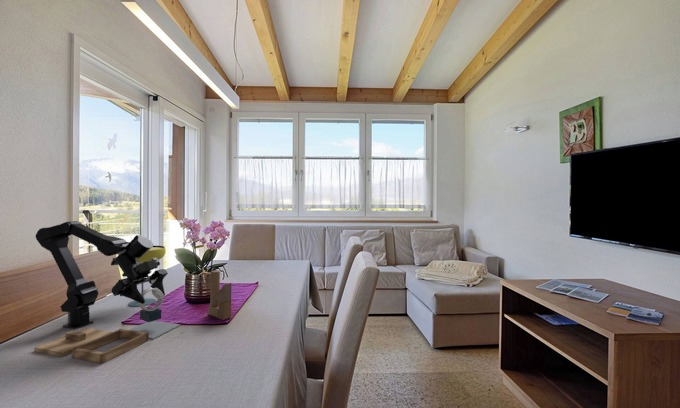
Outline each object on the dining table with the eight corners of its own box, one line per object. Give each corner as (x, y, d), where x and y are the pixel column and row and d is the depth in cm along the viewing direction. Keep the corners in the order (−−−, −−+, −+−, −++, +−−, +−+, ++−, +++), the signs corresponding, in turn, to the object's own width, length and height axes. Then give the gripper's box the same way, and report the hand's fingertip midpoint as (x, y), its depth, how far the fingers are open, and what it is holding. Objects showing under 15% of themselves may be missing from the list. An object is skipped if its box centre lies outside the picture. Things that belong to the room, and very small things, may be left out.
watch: (166, 316, 111) (167, 286, 111) (143, 324, 104) (144, 292, 104) (157, 313, 114) (158, 284, 114) (134, 320, 107) (135, 289, 107)
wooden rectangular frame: (72, 357, 89) (72, 348, 89) (120, 335, 104) (120, 328, 104) (102, 363, 86) (102, 354, 86) (148, 340, 101) (148, 332, 101)
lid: (34, 351, 93) (34, 340, 93) (86, 331, 107) (86, 322, 107) (62, 356, 90) (62, 346, 90) (112, 335, 104) (112, 326, 104)
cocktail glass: (122, 299, 142) (122, 246, 142) (166, 294, 150) (166, 244, 150) (113, 312, 126) (114, 252, 126) (163, 306, 134) (164, 249, 134)
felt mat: (121, 334, 105) (121, 333, 105) (150, 321, 117) (150, 320, 117) (153, 339, 102) (153, 338, 101) (180, 325, 113) (180, 324, 113)
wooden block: (223, 320, 118) (223, 275, 118) (207, 314, 124) (208, 271, 124) (231, 317, 121) (232, 273, 121) (216, 312, 127) (216, 269, 127)
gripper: (118, 256, 101) (144, 292, 98) (164, 248, 119) (187, 278, 116) (100, 277, 103) (124, 313, 100) (148, 266, 121) (170, 296, 118)
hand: (154, 299), depth 108 cm, fingers closed on watch, 8 cm apart
